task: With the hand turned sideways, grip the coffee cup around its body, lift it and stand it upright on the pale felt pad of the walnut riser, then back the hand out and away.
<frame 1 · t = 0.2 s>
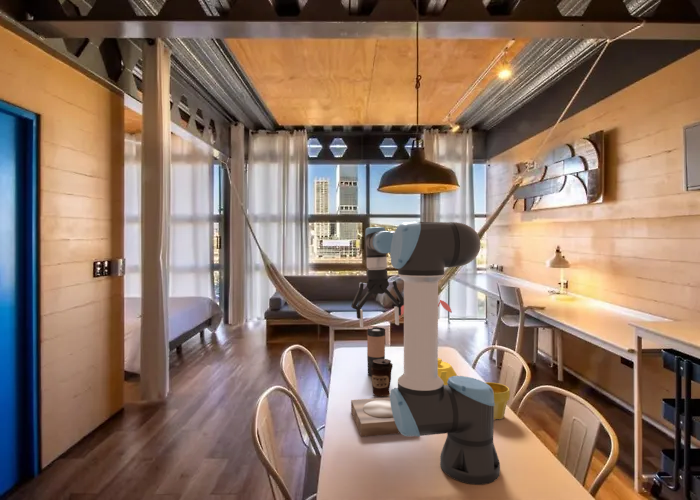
hand: (379, 326, 153), 27 cm above the table, tool pointing down, fingers open, 13 cm apart
travel mug: (375, 374, 181), on the table
teapot: (437, 395, 158), on the table
plant pot: (493, 416, 140), on the table
walnut riser: (382, 421, 136), on the table
coffee cup: (381, 394, 159), on the table
figurine: (425, 366, 192), on the table
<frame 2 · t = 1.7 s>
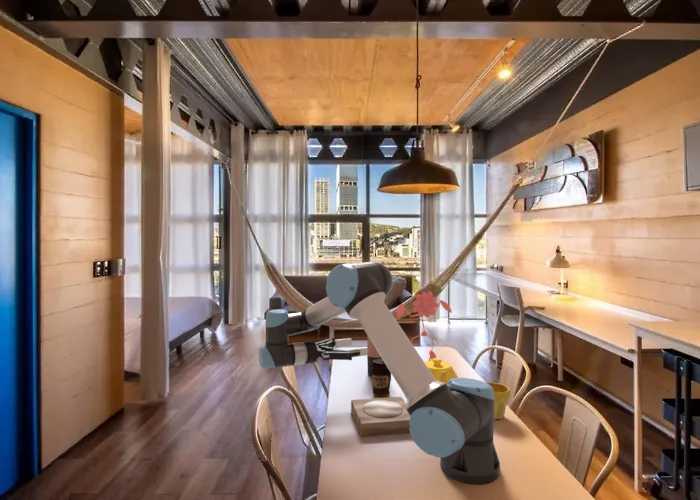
hand: (358, 346, 154), 20 cm above the table, tool horizontal, fingers open, 13 cm apart
nothing on the table moved.
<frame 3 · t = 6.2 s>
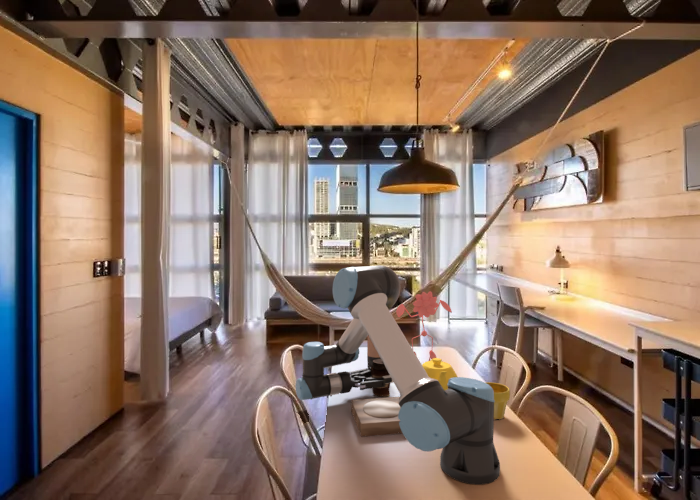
hand: (392, 374, 160), 7 cm above the table, tool horizontal, fingers closed on coffee cup, 7 cm apart
coffee cup: (381, 394, 159), on the table, touching gripper
everything else where it was.
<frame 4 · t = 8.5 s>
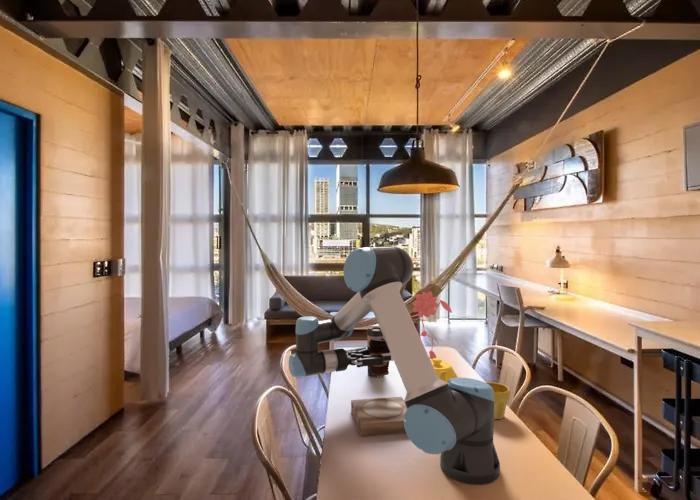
hand: (391, 352, 152), 18 cm above the table, tool horizontal, fingers closed on coffee cup, 7 cm apart
coffee cup: (380, 374, 150), point 11 cm above the table, touching gripper
everything else where it was.
when the fingers open (13 cm above the table, at t = 11.0 s): coffee cup drops 2 cm, resting on walnut riser.
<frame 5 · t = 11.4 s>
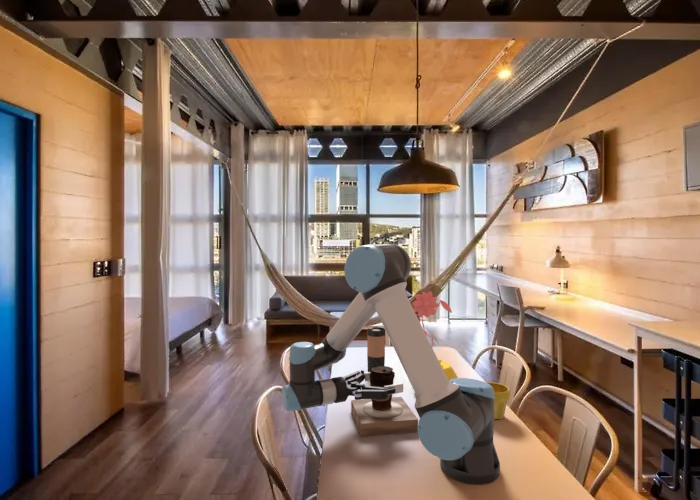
hand: (392, 380, 137), 13 cm above the table, tool horizontal, fingers open, 13 cm apart
coffee cup: (382, 408, 136), point 4 cm above the table, touching walnut riser
everything else where it was.
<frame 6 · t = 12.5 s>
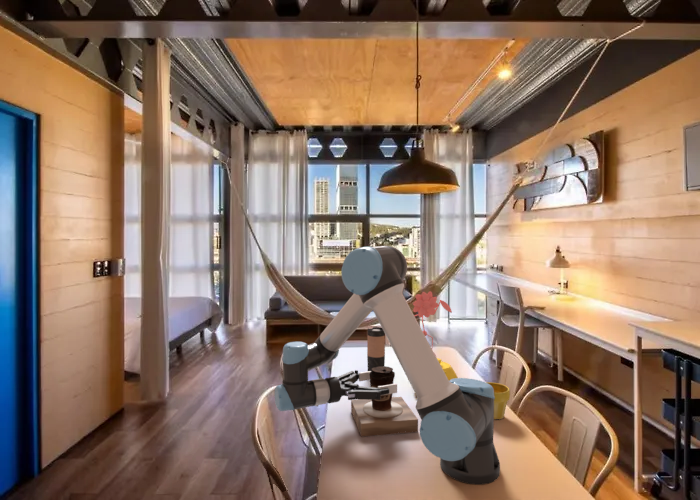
hand: (386, 380, 136), 13 cm above the table, tool horizontal, fingers open, 13 cm apart
nothing on the table moved.
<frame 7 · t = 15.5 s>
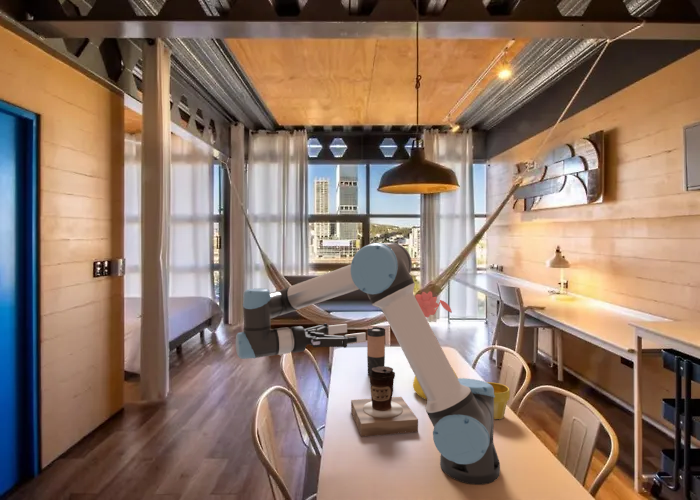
hand: (355, 332, 131), 30 cm above the table, tool horizontal, fingers open, 13 cm apart
nothing on the table moved.
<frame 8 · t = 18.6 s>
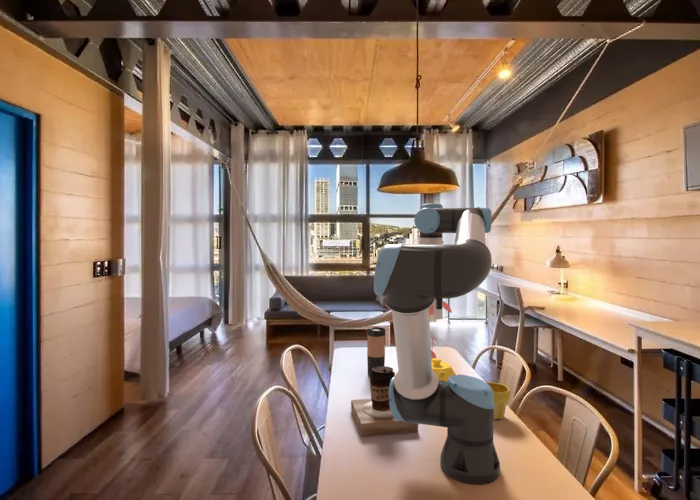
hand: (430, 314, 137), 35 cm above the table, tool pointing down, fingers open, 13 cm apart
nothing on the table moved.
at the end: coffee cup inside the target area on the walnut riser (0.3 cm from its centre), point 4.1 cm above the walnut riser's base; coffee cup tilted 0°; the gripper is holding nothing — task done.
